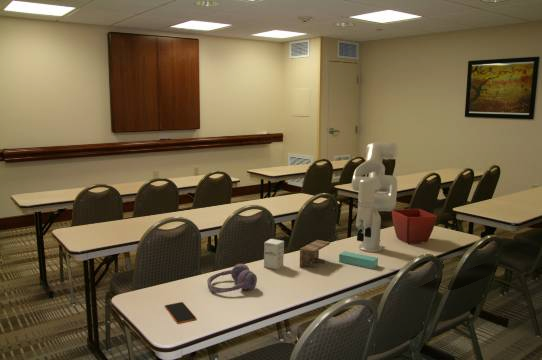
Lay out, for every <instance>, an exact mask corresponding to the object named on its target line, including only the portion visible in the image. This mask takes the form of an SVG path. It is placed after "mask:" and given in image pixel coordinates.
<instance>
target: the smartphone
mask: <svg viewBox="0 0 542 360" xmlns="http://www.w3.org/2000/svg"><path fill="white" fill-rule="evenodd" d="M164 308H165V309H166V311H167V312H168V313H169V314H170V316H171V317H172V320H173V321H174V322H175V323H176V324H177V325H179V324H184V323H188V322H194V321H196V320H197V317H196V316H195V314H194V313H193V312H192V311H191V310H190V308H188V307H187V305H186V304H185V303H184V302H183V301H180V302H174V303H170V304H169V303H168V304H165V305H164Z"/></svg>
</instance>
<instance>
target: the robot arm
mask: <svg viewBox="0 0 542 360" xmlns="http://www.w3.org/2000/svg"><path fill="white" fill-rule="evenodd" d="M365 150H366V151H365V152H366V153H365V154H366V155H365V156H366V157H365V161H364V162H362V163H360V165H358V166H357V167H356V168H355V170H354V172H353V175H352V179H351V189H352V190H353V191H356V192H358V196H357V197H358V198H357V199H358V200H357V202H358V203H357V213H356V223H355V227H356V241H357V242H361V244H359V245H358V248H359V250H361V251H363V252H368V253H376V252H377V253H378V252H382V251H383V246H382V245H380V244H381V226H382V224H381V222H382V218H381V214H380V213H379V212H378V211H381V212H382V211H383V212H392V211H393V210H396V209H395V208H396V204H397V193H398V180H397V177H396V176H395V175H391V174H390V175H389V174H388V175H387V174H385V171H386V167H385V165H384V163H383V160H384V159H385V160H395V159H396V158H397V157H398V155H399V147H398V145H397V144H396V143H394V142H381V141H374V142H372V143H368V144H367V146H366V148H365ZM364 175H368V176H364Z"/></svg>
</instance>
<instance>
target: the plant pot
mask: <svg viewBox="0 0 542 360" xmlns="http://www.w3.org/2000/svg"><path fill="white" fill-rule="evenodd" d="M391 217H392V218H391V219H392V223H393V228H394V232H395V235H396V238H397V239H398V240H400V241H401V242H403V243H405V242H406V244H407V243H408V244H407V245H411V243H416V244H421V243H420V242H427V243H428V240H429V239H430V238H431V235H432V233H433V230H434V228H435V225H436V222H437V219H438V216H437V215H435V214H433V213H431V212H428V211H426V210H423V209H421V208H406V209H394V210H393V211H391Z"/></svg>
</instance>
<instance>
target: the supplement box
mask: <svg viewBox="0 0 542 360" xmlns="http://www.w3.org/2000/svg"><path fill="white" fill-rule="evenodd" d="M263 244H264V245H263V246H264V250H263V251H264V252H263V268H268V269H273V270H279V269H280V268H281V267H283V266H284V259H285V258H284V257H285V256H284V253H285V251H284V249H285V241H284V240H280V239H275V238H270V239H268V240H266V241H264V243H263Z"/></svg>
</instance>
